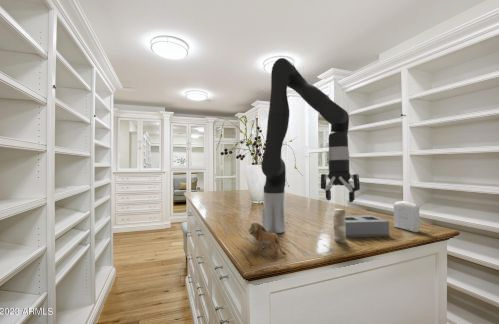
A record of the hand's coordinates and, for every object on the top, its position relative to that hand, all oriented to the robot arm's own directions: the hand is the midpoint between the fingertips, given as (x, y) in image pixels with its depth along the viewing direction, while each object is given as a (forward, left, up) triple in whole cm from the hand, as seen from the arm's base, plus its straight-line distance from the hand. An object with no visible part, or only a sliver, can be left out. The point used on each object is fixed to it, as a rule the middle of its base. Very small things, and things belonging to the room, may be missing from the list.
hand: (339, 201), depth 91 cm
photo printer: (+22, +32, -16) cm, 42 cm away
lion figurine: (-20, -24, -16) cm, 35 cm away
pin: (0, 0, -15) cm, 15 cm away
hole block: (+5, +16, -15) cm, 23 cm away
